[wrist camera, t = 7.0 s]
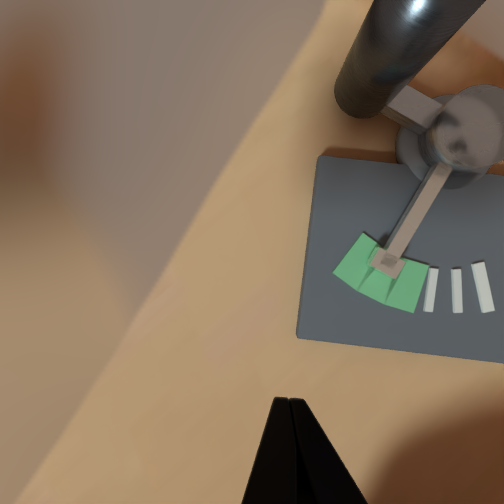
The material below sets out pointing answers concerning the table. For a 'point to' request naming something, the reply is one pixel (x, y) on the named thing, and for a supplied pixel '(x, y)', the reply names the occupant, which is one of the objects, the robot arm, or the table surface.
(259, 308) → the table surface
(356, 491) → the robot arm
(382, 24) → the dial
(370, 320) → the gauge board
